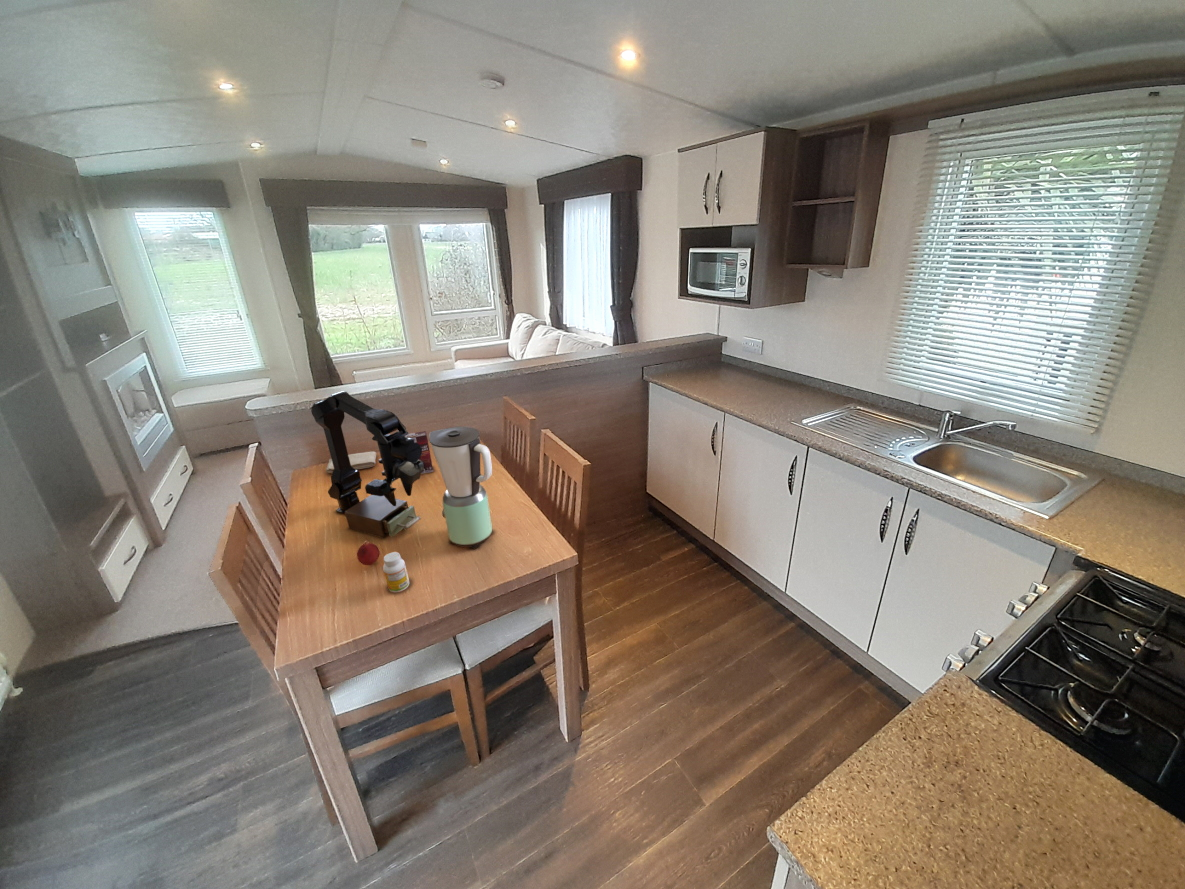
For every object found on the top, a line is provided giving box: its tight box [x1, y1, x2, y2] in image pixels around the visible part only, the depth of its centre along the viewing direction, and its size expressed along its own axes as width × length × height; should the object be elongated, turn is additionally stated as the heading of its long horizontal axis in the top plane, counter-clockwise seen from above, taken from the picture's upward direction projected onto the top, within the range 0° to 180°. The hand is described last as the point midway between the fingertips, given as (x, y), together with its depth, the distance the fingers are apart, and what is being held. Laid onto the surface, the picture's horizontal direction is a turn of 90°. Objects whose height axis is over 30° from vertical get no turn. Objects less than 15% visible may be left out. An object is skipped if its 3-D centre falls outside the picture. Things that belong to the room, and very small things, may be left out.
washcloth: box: [325, 450, 377, 475], centre depth 192 cm, size 12×18×3 cm, turn 110°
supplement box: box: [405, 430, 434, 475], centre depth 183 cm, size 9×5×16 cm, turn 114°
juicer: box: [428, 426, 493, 550], centre depth 138 cm, size 19×13×35 cm
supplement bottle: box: [382, 551, 410, 593], centre depth 125 cm, size 5×5×10 cm
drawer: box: [381, 505, 422, 538], centre depth 151 cm, size 18×11×5 cm, turn 67°
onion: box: [356, 540, 381, 566], centre depth 134 cm, size 6×6×8 cm
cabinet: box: [344, 494, 409, 539], centre depth 153 cm, size 14×12×6 cm
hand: (402, 500), depth 145 cm, fingers open, 6 cm apart
